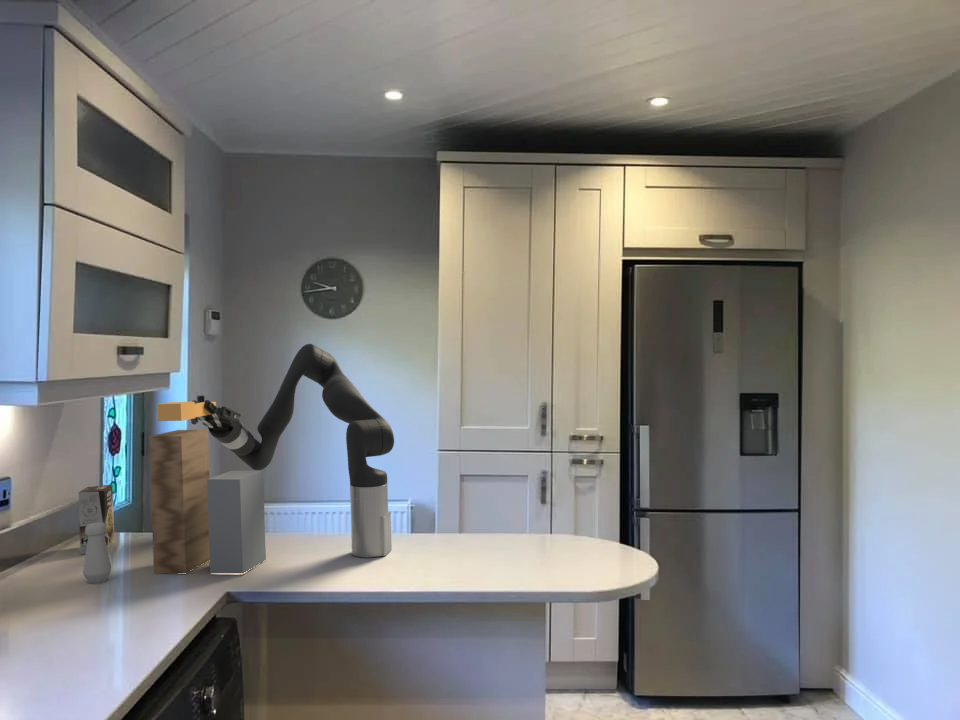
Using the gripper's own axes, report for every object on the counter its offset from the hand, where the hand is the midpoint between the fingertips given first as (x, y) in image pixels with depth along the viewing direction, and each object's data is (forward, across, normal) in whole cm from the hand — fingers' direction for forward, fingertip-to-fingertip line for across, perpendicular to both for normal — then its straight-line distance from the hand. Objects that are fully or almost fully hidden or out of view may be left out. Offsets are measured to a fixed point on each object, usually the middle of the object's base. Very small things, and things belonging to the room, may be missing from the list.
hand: (199, 403), depth 186 cm
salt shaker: (-1, -14, +44) cm, 46 cm away
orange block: (+2, 0, +5) cm, 5 cm away
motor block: (-11, +14, +38) cm, 42 cm away
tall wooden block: (-11, 0, +38) cm, 39 cm away
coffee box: (-22, -32, +31) cm, 50 cm away
